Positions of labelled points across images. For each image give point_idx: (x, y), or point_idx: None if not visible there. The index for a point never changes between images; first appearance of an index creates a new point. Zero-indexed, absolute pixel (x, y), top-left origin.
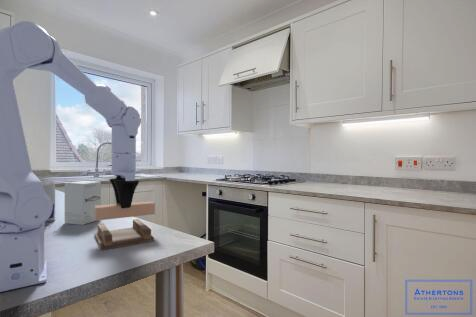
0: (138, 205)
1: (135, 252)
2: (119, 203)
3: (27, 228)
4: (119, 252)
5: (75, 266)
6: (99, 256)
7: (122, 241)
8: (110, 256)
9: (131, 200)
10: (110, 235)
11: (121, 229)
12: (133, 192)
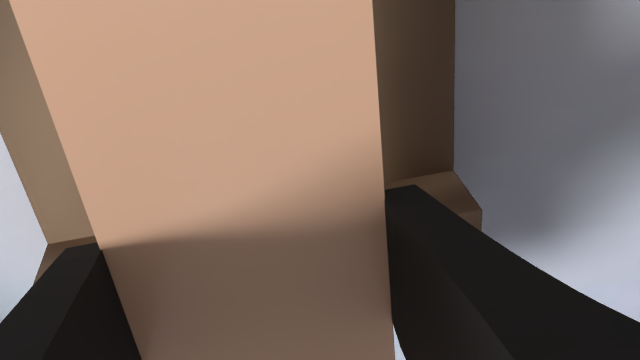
0: (373, 55)
1: (625, 8)
2: (133, 341)
3: None
4: (553, 112)
5: (605, 300)
6: (544, 217)
7: (415, 101)
8: (585, 162)
9: (485, 238)
10: (473, 220)
11: (7, 100)
12: (632, 328)
